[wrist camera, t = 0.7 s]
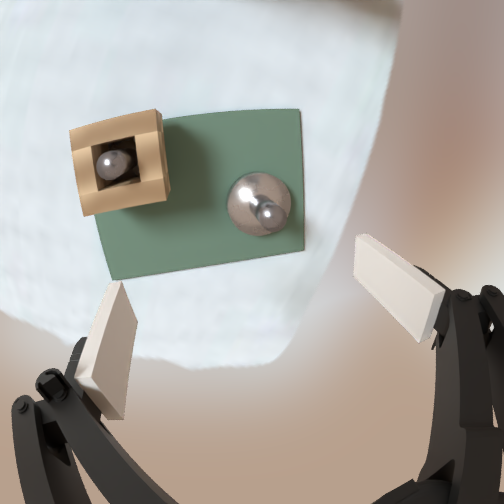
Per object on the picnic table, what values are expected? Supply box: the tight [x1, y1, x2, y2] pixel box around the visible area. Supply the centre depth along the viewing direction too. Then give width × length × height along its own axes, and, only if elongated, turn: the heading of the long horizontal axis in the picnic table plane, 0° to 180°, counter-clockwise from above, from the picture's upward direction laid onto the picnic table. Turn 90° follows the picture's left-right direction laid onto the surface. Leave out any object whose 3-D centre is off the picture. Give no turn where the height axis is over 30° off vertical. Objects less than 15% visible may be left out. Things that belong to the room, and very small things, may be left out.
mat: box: [94, 109, 304, 281], centre depth 34 cm, size 20×28×1 cm
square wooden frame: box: [69, 109, 171, 217], centre depth 26 cm, size 9×9×6 cm
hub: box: [226, 171, 291, 236], centre depth 32 cm, size 8×8×8 cm
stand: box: [96, 138, 140, 182], centre depth 26 cm, size 7×7×10 cm
